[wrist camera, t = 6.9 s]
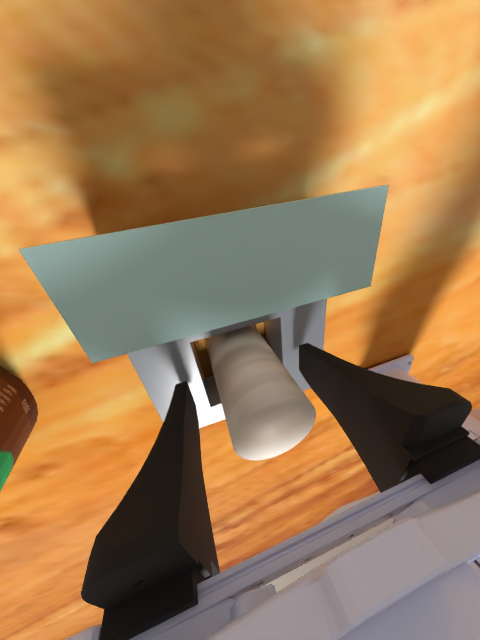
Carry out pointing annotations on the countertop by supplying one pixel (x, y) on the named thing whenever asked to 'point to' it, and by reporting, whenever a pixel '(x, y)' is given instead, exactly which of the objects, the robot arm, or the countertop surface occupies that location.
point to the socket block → (212, 285)
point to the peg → (258, 395)
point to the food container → (14, 420)
